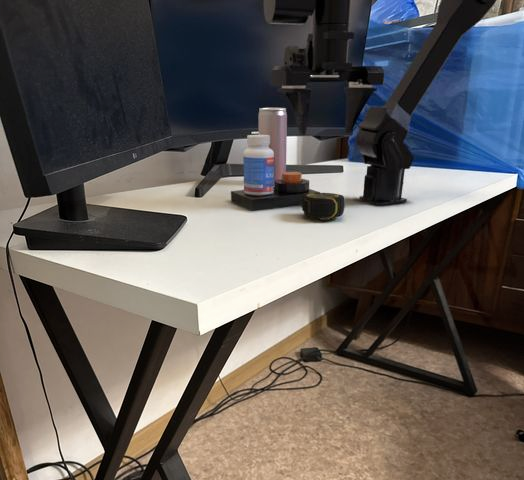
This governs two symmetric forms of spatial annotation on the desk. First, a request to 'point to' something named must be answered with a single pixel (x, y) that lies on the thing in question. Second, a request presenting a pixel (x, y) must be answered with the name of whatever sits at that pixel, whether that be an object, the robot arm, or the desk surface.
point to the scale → (274, 196)
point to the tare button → (291, 177)
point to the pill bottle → (258, 166)
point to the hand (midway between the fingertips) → (325, 134)
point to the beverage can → (275, 135)
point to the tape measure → (323, 205)
